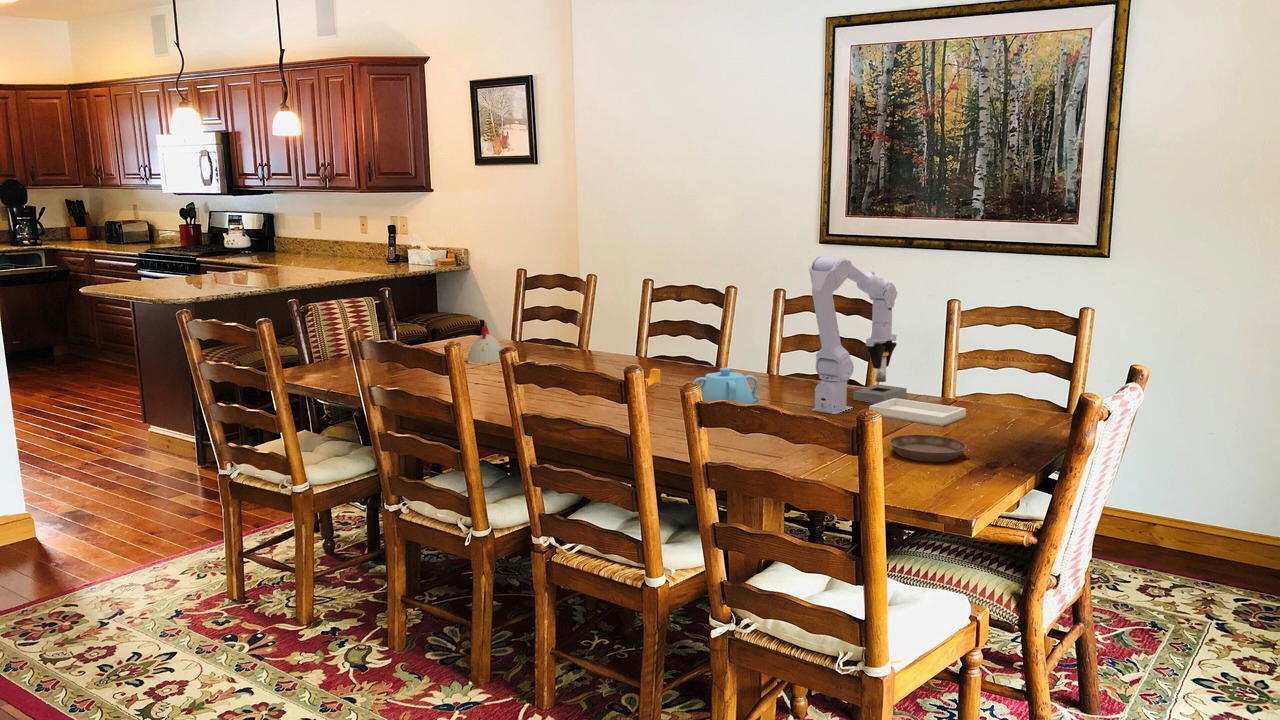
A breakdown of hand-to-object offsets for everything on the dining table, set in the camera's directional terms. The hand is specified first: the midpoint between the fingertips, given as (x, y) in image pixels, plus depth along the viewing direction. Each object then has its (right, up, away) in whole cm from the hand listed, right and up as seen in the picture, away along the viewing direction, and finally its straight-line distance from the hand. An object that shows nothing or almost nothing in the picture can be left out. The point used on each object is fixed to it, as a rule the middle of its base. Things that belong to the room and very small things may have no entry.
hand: (880, 367), depth 299 cm
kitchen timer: (-129, 0, +69) cm, 146 cm away
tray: (+5, -13, -20) cm, 25 cm away
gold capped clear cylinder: (0, -4, +1) cm, 4 cm away
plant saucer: (-3, -21, -60) cm, 63 cm away
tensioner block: (0, -10, +2) cm, 10 cm away
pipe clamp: (-71, -8, +20) cm, 74 cm away
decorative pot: (-48, -14, -16) cm, 52 cm away
